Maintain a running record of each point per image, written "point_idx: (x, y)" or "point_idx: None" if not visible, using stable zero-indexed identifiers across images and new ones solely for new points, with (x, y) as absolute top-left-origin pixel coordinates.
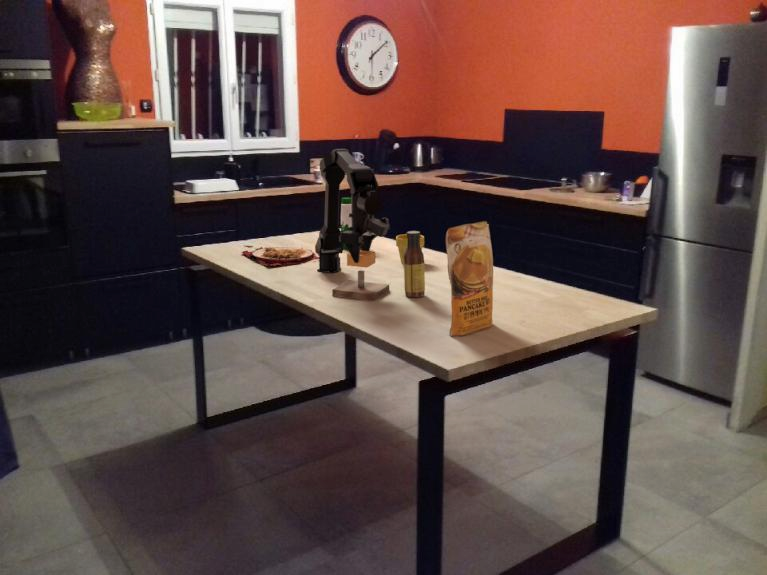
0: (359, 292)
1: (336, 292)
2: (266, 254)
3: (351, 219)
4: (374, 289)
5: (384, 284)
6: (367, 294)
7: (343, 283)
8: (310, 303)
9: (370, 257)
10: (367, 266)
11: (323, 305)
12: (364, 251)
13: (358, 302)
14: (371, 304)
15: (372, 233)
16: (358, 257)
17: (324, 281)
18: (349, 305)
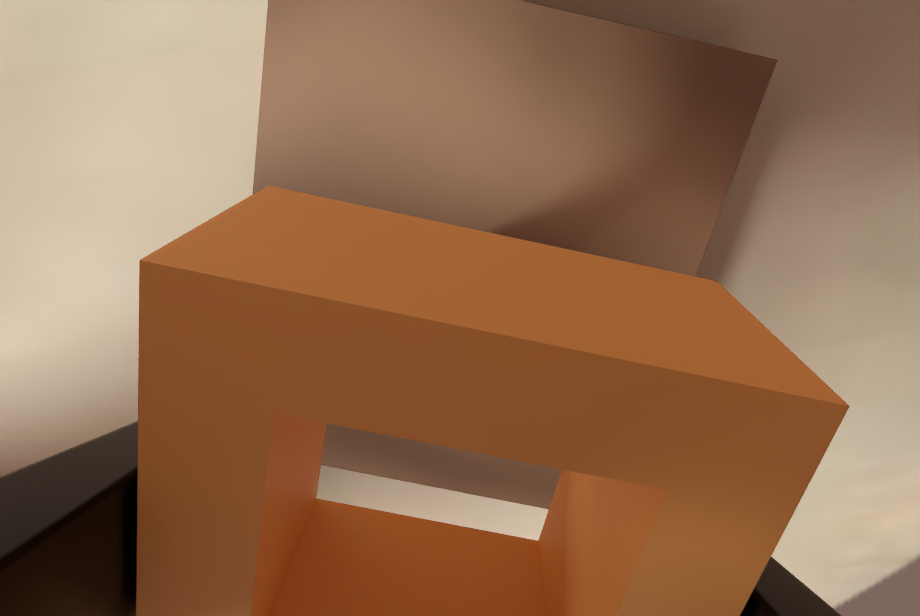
0: (699, 255)
1: None
2: None
3: None
4: (549, 105)
5: (288, 16)
6: (737, 154)
7: (371, 469)
8: (827, 580)
9: (555, 307)
10: (692, 280)
11: (890, 488)
12: (219, 558)
13: (802, 221)
14: (883, 67)
15: None
16: (781, 576)
17: None
18: (906, 285)
